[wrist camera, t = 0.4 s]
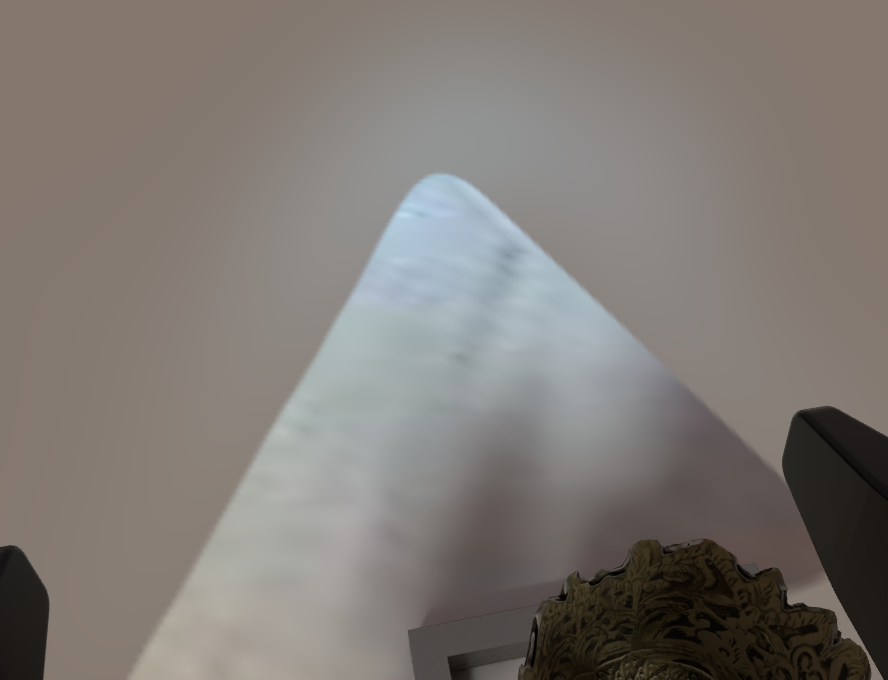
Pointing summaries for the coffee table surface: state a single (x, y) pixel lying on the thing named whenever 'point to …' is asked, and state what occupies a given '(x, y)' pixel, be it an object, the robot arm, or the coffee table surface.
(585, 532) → the coffee table surface
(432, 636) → the grey double frame
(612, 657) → the bronze ornate bell
